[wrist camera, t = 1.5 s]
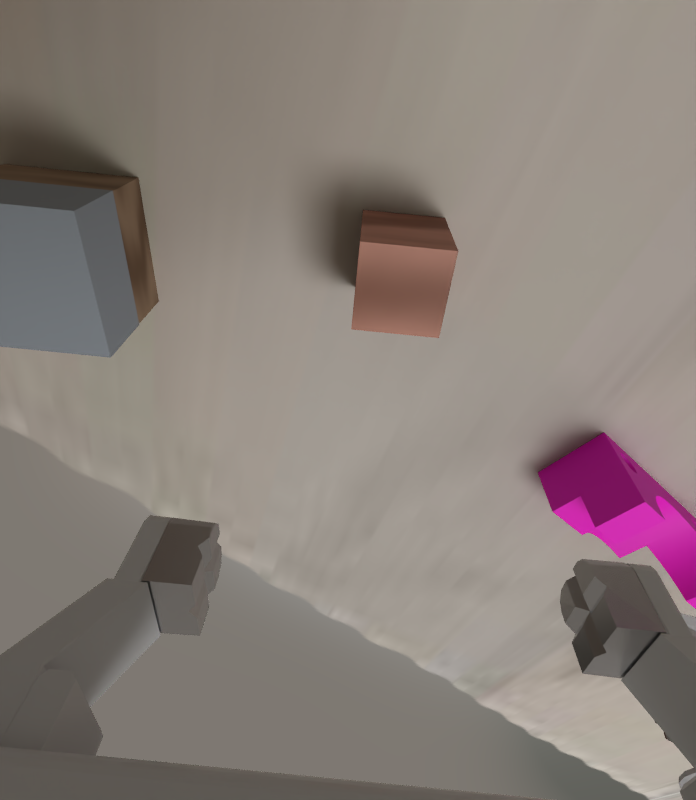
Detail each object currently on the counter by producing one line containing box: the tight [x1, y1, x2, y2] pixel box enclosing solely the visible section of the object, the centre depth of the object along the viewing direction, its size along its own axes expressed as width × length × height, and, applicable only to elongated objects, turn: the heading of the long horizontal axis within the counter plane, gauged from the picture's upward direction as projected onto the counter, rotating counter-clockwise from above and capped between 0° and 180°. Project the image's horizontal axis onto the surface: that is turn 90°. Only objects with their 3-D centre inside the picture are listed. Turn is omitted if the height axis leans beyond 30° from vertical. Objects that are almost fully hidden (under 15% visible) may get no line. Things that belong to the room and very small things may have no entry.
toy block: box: [538, 433, 696, 609], centre depth 39 cm, size 15×6×8 cm, turn 49°
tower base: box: [0, 164, 159, 323], centre depth 29 cm, size 8×8×4 cm
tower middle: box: [0, 179, 139, 357], centre depth 26 cm, size 8×8×4 cm
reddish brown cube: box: [352, 210, 458, 338], centre depth 28 cm, size 5×5×6 cm
